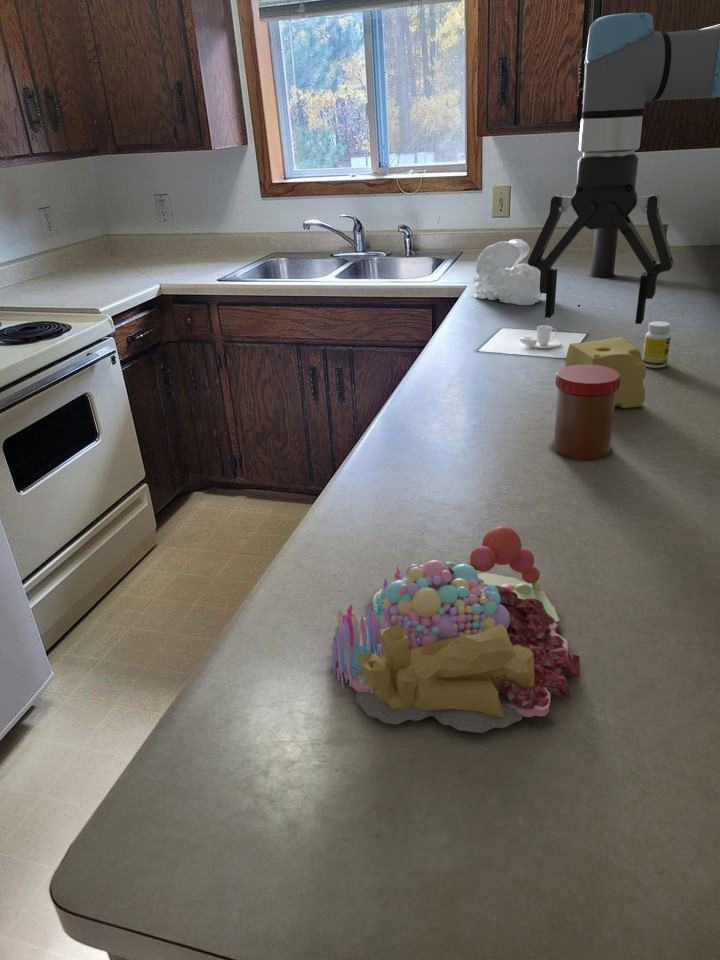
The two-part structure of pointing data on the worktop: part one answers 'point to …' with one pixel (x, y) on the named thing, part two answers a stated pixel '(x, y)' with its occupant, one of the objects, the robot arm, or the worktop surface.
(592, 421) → the jam jar
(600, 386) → the lid
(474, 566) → the pastel sphere sculpture
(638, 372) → the cheese
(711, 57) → the robot arm
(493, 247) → the white plaster sculpture
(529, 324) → the worktop surface
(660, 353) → the supplement bottle
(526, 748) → the worktop surface
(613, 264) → the vinegar
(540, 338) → the teacup and saucer
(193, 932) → the worktop surface
